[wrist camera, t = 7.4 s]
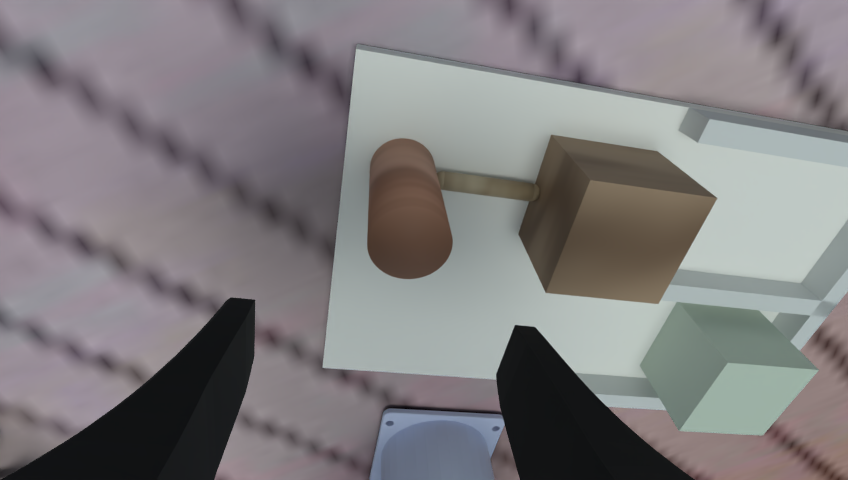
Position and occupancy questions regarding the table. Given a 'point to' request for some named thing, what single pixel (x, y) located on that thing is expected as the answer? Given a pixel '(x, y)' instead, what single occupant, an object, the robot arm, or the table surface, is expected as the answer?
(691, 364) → the sage block
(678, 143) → the pale grey tray
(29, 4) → the table surface
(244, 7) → the table surface
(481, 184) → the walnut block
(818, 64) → the table surface
